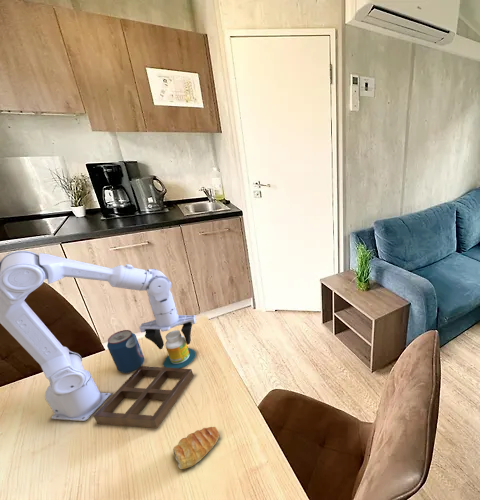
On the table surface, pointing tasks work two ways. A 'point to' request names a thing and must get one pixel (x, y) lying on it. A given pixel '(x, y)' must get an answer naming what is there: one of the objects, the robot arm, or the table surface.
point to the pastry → (195, 446)
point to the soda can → (125, 351)
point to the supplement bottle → (176, 347)
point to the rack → (144, 397)
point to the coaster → (191, 357)
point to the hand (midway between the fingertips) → (175, 344)
